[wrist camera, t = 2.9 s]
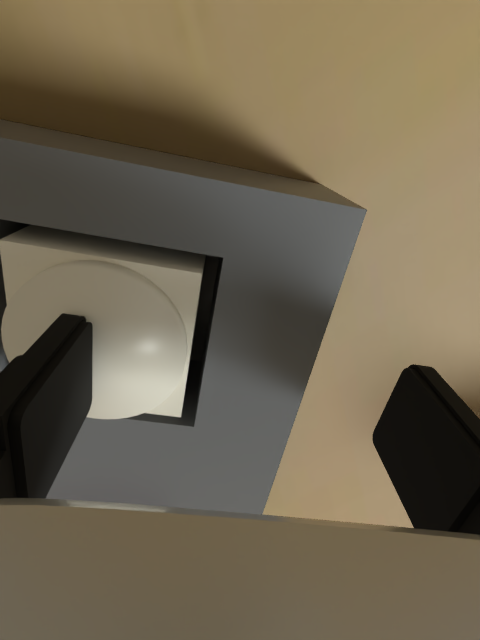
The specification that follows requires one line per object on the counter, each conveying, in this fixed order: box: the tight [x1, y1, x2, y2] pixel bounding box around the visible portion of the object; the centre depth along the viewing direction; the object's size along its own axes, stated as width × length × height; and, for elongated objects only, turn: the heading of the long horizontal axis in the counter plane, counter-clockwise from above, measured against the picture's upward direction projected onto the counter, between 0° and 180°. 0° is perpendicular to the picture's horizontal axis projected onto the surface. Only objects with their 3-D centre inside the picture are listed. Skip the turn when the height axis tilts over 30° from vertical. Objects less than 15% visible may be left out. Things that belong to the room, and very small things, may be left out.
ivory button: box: [0, 225, 206, 419], centre depth 11 cm, size 5×5×3 cm
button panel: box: [0, 119, 367, 515], centre depth 16 cm, size 22×13×5 cm, turn 169°
